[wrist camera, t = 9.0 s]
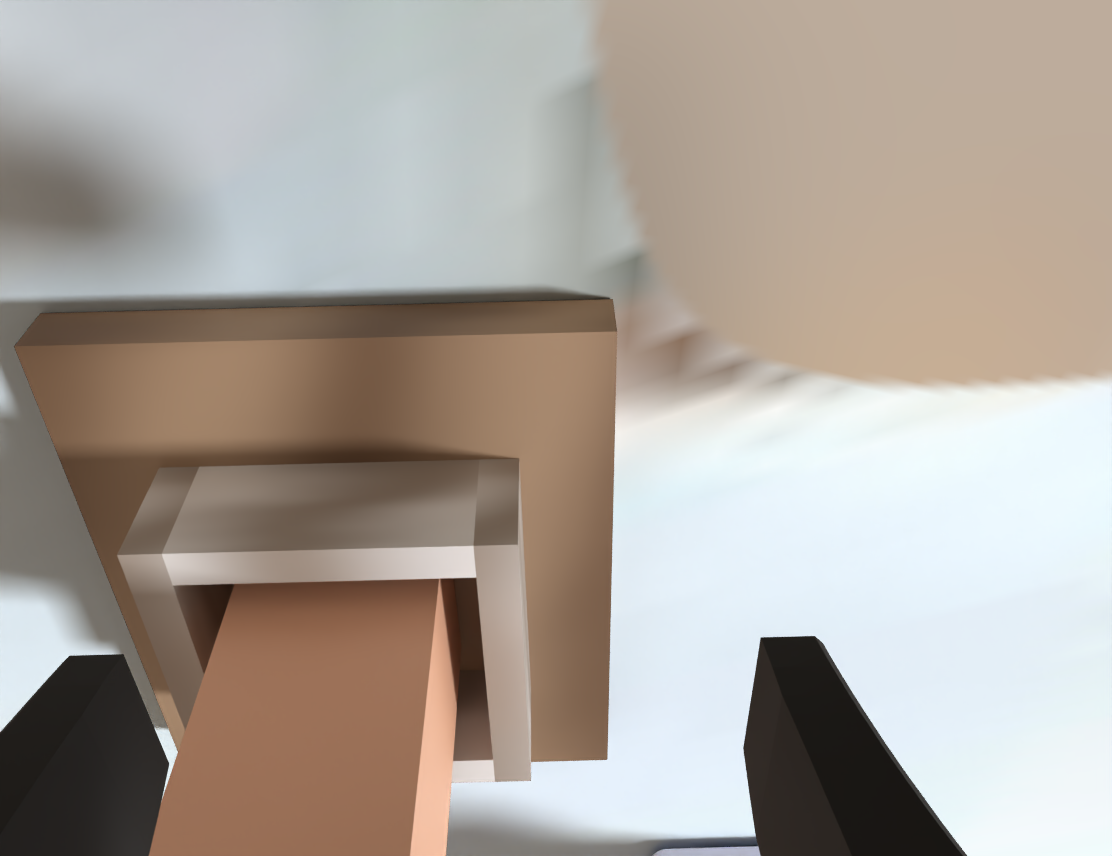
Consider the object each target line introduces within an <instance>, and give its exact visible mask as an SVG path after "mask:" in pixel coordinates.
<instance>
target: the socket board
mask: <svg viewBox="0 0 1112 856" xmlns="http://www.w3.org/2000/svg"><path fill="white" fill-rule="evenodd" d="M14 348H15V350H16V353H17V355H18V358H19V360H20V362H21V365H22V367H23V370H24V372H25V375H26V377H27V380H28V382H29V385H30V387H31V390H32V392H33V395H34V397H35V400H36V402H37V405H38V407H39V409H40V412H41V414H42V417H43V419H44V422H45V424H46V427H47V429H48V432H49V434H50V437H51V439H52V442H53V444H54V447H55V449H56V451H57V454H58V456H59V459H60V461H61V464H62V466H63V469H64V471H65V474H66V476H67V479H68V481H69V484H70V486H71V489H72V491H73V494H74V496H75V498H76V501H77V503H78V506H79V508H80V511H81V513H82V516H83V518H84V521H85V523H86V526H87V528H88V531H89V533H90V536H91V538H92V540H93V543H94V545H95V548H96V550H97V553H98V555H99V558H100V560H101V563H102V565H103V568H104V570H105V573H106V575H107V578H108V580H109V583H110V585H111V587H112V590H113V592H114V595H115V597H116V600H117V602H118V605H119V607H120V610H121V612H122V615H123V617H124V620H125V622H126V625H127V627H128V630H129V632H130V634H131V637H132V639H133V642H134V644H135V647H136V649H137V652H138V654H139V657H140V659H141V662H142V664H143V667H144V669H145V672H146V674H147V676H148V679H149V681H150V684H151V686H152V689H153V691H154V694H155V696H156V699H157V701H158V704H159V706H160V709H161V711H162V714H163V716H164V719H165V721H166V723H167V726H168V728H169V731H170V733H171V736H172V738H173V741H174V743H175V746H176V748H177V751H179V748H180V745H181V742H182V739H183V736H184V733H185V730H186V727H187V724H188V721H189V718H190V715H191V712H192V709H193V706H194V703H195V700H196V697H197V694H198V692H199V689H200V686H201V683H202V680H203V677H204V674H205V671H206V668H207V665H208V662H209V659H210V656H211V653H212V650H213V647H214V644H215V641H216V638H217V635H218V632H219V629H220V626H221V623H222V620H223V617H224V614H225V611H226V608H227V605H228V602H229V599H230V596H231V593H232V590H233V587H234V584H248V583H286V582H325V581H363V580H402V579H440V578H453V580H454V588H455V597H456V605H457V613H458V621H459V629H460V637H461V645H462V647H461V660H460V673H459V687H458V700H457V714H456V727H455V740H454V754H453V767H452V781H451V783H464V782H501V781H531V762H542V761H579V760H607V749H608V705H609V661H610V617H611V573H612V529H613V485H614V441H615V397H616V353H617V328H616V320H615V313H614V305H613V299H604V300H563V301H522V302H482V303H441V304H401V305H360V306H319V307H279V308H238V309H197V310H157V311H116V312H76V313H40V314H39V316H38V317H37V318H36V319H35V321H34V322H33V323H32V324H31V326H30V327H29V328H28V330H27V331H26V332H25V333H24V335H23V336H22V337H21V338H20V340H19V341H18V342H17V343H16V345H15V346H14Z"/></svg>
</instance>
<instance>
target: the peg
mask: <svg viewBox="0 0 1112 856" xmlns="http://www.w3.org/2000/svg"><path fill="white" fill-rule="evenodd" d="M461 647H462V645H461V637H460V629H459V621H458V613H457V605H456V597H455V588H454V580H453V578H440V579H402V580H363V581H325V582H286V583H248V584H234V587H233V590H232V593H231V596H230V599H229V602H228V605H227V608H226V611H225V614H224V617H223V620H222V623H221V626H220V629H219V632H218V635H217V638H216V641H215V644H214V647H213V650H212V653H211V656H210V659H209V662H208V665H207V668H206V671H205V674H204V677H203V680H202V683H201V686H200V689H199V692H198V694H197V697H196V700H195V703H194V706H193V709H192V712H191V715H190V718H189V721H188V724H187V727H186V730H185V733H184V736H183V739H182V742H181V745H180V748H179V751H178V754H177V757H176V760H175V763H174V766H173V769H172V772H171V775H170V778H169V781H168V784H167V787H166V790H165V793H164V796H163V799H162V802H161V805H160V810H159V815H158V819H157V823H156V827H155V832H154V836H153V840H152V844H151V849H150V853H149V856H446V848H447V834H448V821H449V807H450V794H451V781H452V767H453V754H454V740H455V727H456V714H457V700H458V687H459V673H460V660H461Z"/></svg>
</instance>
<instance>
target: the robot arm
mask: <svg viewBox="0 0 1112 856" xmlns="http://www.w3.org/2000/svg"><path fill="white" fill-rule="evenodd" d="M743 749H744V756H745V764H746V771H747V778H748V786H749V793H750V800H751V807H752V813H753V820H754V827H755V833H756V839H757V843H758V846H749V847H713V848H676V849H662V850H660V851H657V852H656V853H655V854H653V855H652V856H967V855H966V854H965V852H964V851H963V850H962V848H961V847H960V846H959V844H958V843H957V842H956V841H955V839H954V838H953V837H952V835H951V834H950V833H949V831H948V830H947V829H946V827H945V826H944V825H943V823H942V822H941V821H940V819H939V818H938V817H937V815H936V814H935V813H934V811H933V810H932V808H931V807H930V806H929V804H928V803H927V801H926V800H925V799H924V797H923V796H922V795H921V793H920V792H919V790H918V789H917V788H916V786H915V785H914V784H913V782H912V781H911V779H910V778H909V777H908V775H907V774H906V772H905V771H904V770H903V768H902V767H901V765H900V764H899V762H898V761H897V760H896V758H895V757H894V755H893V754H892V752H891V751H890V749H889V748H888V747H887V745H886V744H885V742H884V741H883V739H882V738H881V736H880V734H879V733H878V731H877V730H876V728H875V727H874V725H873V724H872V722H871V721H870V719H869V718H868V716H867V715H866V713H865V712H864V710H863V709H862V707H861V705H860V704H859V702H858V701H857V699H856V698H855V696H854V694H853V693H852V691H851V690H850V688H849V686H848V685H847V683H846V682H845V680H844V678H843V677H842V675H841V673H840V672H839V670H838V668H837V667H836V665H835V663H834V662H833V660H832V658H831V657H830V655H829V653H828V651H827V650H826V648H825V646H824V644H823V643H822V642H821V641H820V640H819V639H817V638H816V637H815V636H802V637H764V638H761V640H760V646H759V652H758V659H757V665H756V672H755V678H754V684H753V691H752V697H751V703H750V710H749V716H748V722H747V729H746V735H745V741H744V748H743ZM168 767H169V762H168V760H167V758H166V755H165V753H164V750H163V748H162V746H161V743H160V741H159V738H158V736H157V734H156V731H155V729H154V726H153V724H152V722H151V719H150V717H149V714H148V712H147V710H146V707H145V705H144V703H143V700H142V698H141V695H140V693H139V691H138V688H137V686H136V683H135V681H134V679H133V676H132V674H131V671H130V669H129V667H128V664H127V662H126V659H125V657H124V655H123V654H119V655H81V656H69V657H68V658H67V659H66V660H65V661H64V662H63V663H62V664H61V665H60V666H59V667H58V668H57V670H56V671H55V672H54V673H53V674H52V675H51V676H50V677H49V678H48V679H47V680H46V682H45V683H44V684H43V685H42V686H41V687H40V688H39V689H38V690H37V692H36V693H35V694H34V695H33V696H32V697H31V698H30V699H29V701H28V702H27V703H26V704H25V705H24V706H23V707H22V708H21V710H20V711H19V712H18V713H17V714H16V715H15V716H14V717H13V719H12V720H11V721H10V722H9V723H8V724H7V725H6V726H5V728H4V729H3V730H2V731H1V732H0V856H149V853H150V849H151V844H152V840H153V836H154V832H155V827H156V823H157V819H158V815H159V810H160V805H161V801H162V796H163V791H164V786H165V781H166V776H167V772H168Z"/></svg>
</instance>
